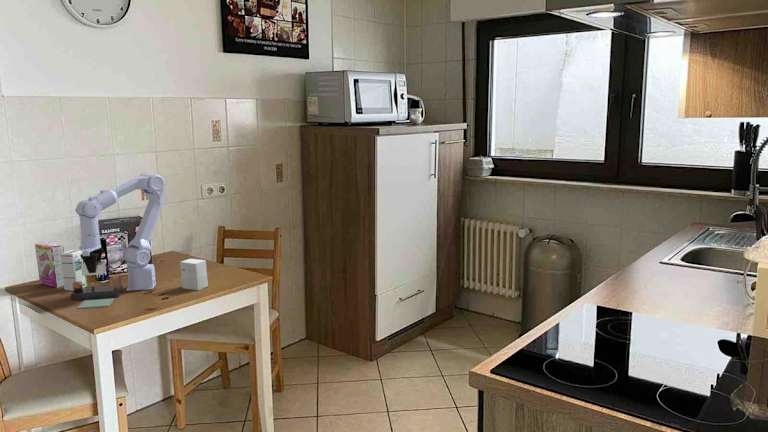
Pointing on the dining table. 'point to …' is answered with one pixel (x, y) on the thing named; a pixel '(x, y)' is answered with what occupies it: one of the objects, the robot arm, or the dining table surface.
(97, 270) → the lever cap
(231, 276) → the dining table surface
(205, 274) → the small box
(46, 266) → the candy bar box
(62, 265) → the syrup box
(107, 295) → the plane body
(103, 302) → the rubber mat
